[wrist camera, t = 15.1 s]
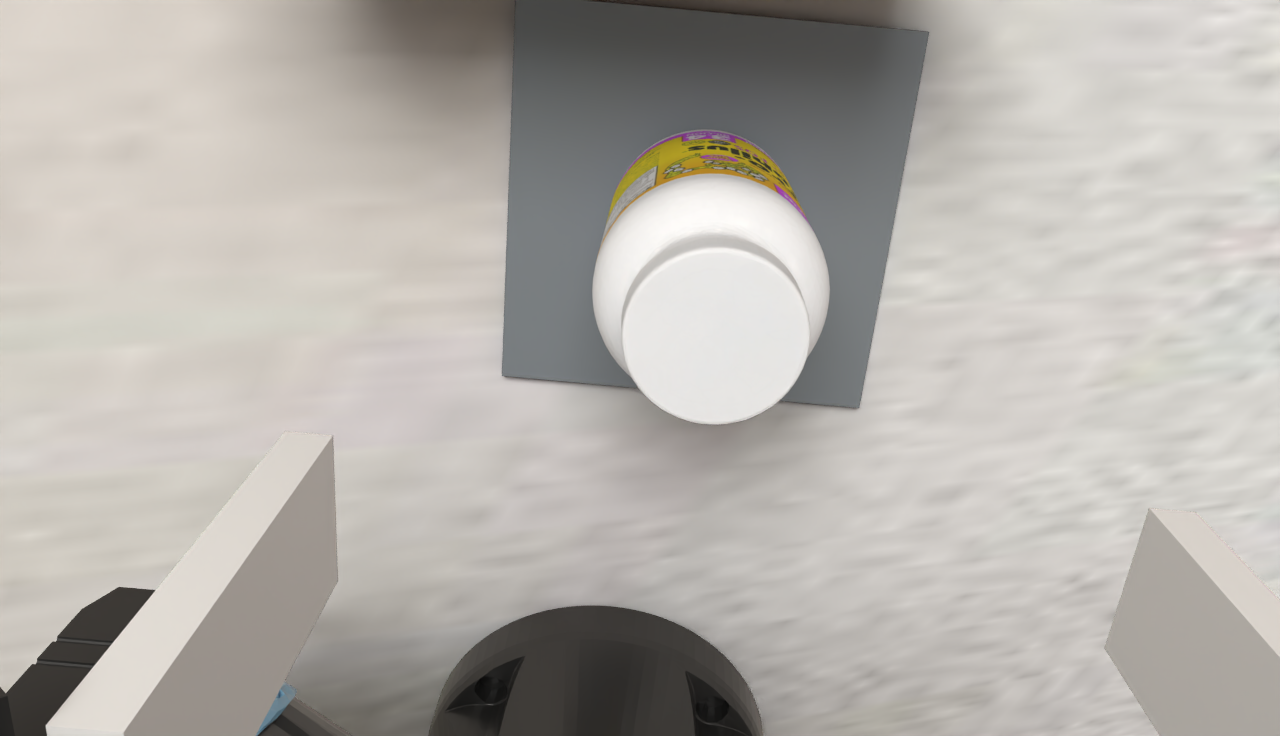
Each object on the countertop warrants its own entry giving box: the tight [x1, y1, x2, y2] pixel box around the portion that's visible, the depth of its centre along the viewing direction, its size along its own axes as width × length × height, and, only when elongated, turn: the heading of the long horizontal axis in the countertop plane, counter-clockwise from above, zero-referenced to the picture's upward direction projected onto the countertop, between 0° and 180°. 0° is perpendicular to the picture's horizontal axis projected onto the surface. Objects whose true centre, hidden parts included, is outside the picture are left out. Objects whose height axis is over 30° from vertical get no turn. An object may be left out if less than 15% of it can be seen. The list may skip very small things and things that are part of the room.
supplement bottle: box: [592, 129, 830, 425], centre depth 30 cm, size 7×7×13 cm
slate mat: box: [502, 0, 929, 408], centre depth 37 cm, size 14×14×1 cm
